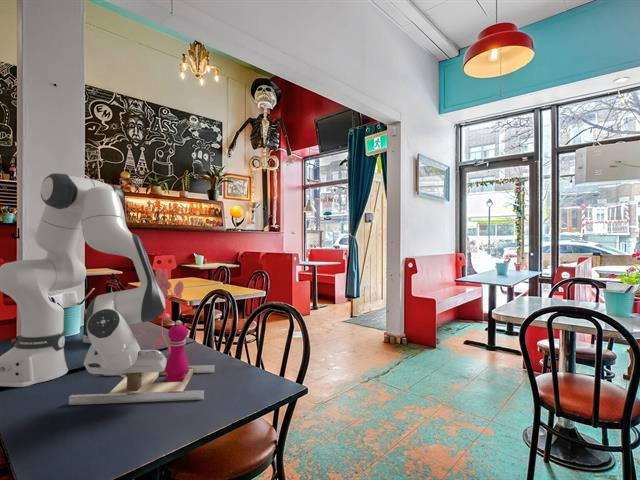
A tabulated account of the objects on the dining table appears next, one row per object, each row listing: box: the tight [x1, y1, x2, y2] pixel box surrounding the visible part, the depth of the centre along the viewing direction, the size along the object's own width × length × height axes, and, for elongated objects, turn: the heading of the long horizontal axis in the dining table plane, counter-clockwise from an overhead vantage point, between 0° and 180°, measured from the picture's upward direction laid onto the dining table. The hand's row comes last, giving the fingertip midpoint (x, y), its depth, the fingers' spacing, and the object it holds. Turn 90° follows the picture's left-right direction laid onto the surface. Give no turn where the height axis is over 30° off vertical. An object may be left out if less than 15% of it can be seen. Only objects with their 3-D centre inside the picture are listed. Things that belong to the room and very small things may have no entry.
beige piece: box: [107, 369, 194, 394], centre depth 109 cm, size 20×19×10 cm
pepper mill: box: [165, 320, 189, 382], centre depth 113 cm, size 7×7×20 cm
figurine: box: [151, 267, 185, 355], centre depth 138 cm, size 15×26×35 cm, turn 54°
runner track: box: [68, 364, 215, 406], centre depth 109 cm, size 36×22×2 cm, turn 99°
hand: (134, 374), depth 103 cm, fingers open, 3 cm apart
